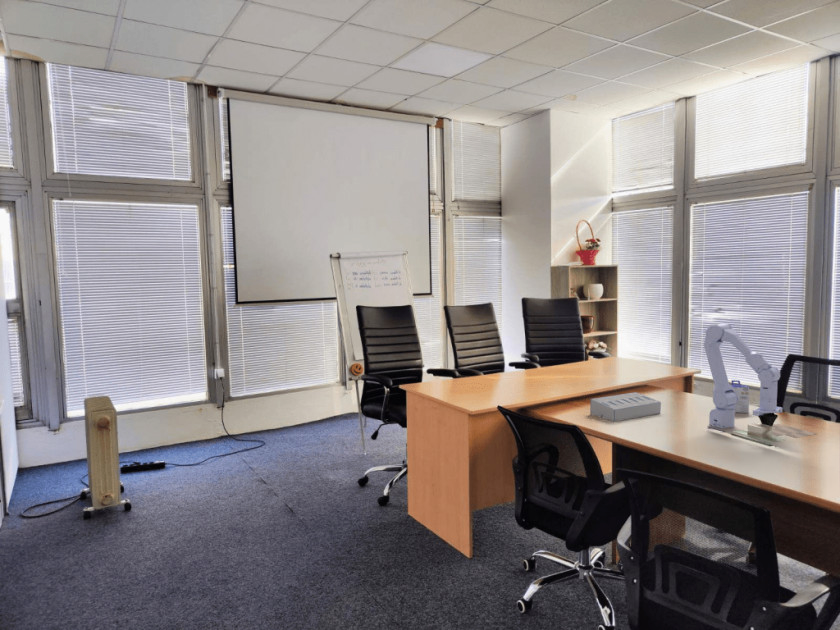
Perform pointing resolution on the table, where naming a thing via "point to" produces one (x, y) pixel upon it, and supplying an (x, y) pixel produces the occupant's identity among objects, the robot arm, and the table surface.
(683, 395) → the table surface
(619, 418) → the warehouse
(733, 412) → the robot arm
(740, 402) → the ink cartridge box
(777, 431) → the trap board
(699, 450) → the table surface
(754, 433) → the birch block
